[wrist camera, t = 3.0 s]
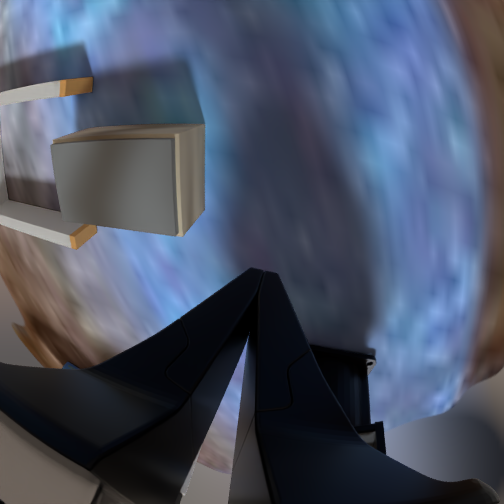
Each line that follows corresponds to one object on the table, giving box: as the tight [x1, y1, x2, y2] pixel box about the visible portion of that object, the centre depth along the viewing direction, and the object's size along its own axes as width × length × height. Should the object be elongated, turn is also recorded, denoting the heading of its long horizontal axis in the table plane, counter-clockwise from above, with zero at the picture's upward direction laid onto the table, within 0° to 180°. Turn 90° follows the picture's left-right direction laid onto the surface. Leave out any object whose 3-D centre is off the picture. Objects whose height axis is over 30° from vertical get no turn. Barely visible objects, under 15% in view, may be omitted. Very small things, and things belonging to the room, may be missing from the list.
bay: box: [0, 77, 97, 250], centre depth 16 cm, size 12×11×2 cm
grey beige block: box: [50, 124, 205, 237], centre depth 15 cm, size 8×5×4 cm, turn 87°
